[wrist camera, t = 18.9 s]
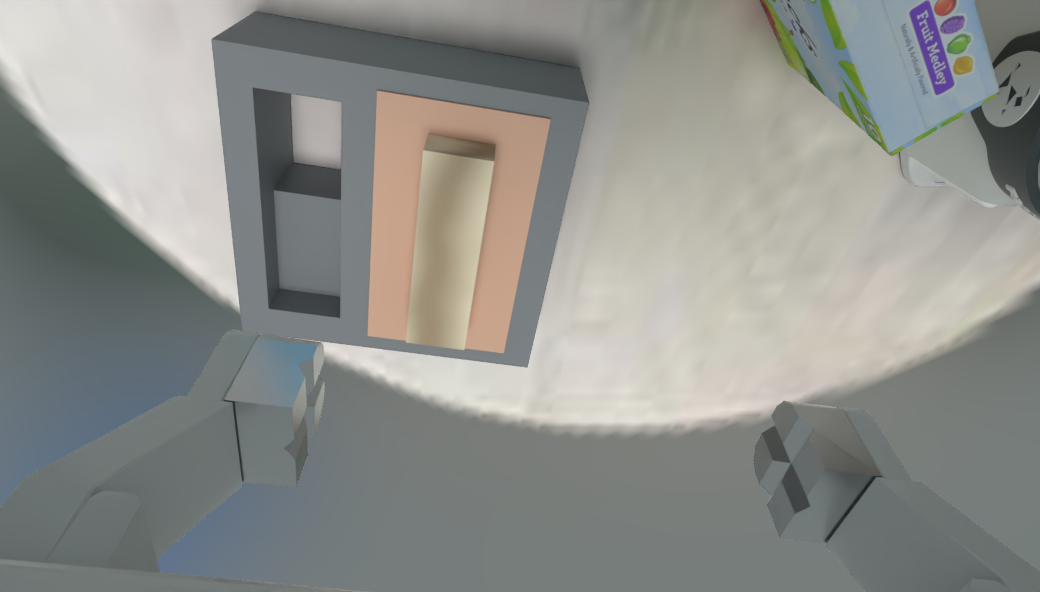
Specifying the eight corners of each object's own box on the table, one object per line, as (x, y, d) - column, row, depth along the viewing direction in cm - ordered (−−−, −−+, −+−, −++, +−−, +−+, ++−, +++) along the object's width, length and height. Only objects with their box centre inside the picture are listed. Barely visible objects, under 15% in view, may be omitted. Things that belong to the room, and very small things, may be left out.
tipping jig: (579, 68, 42) (589, 103, 36) (526, 312, 54) (527, 369, 48) (255, 11, 40) (210, 40, 34) (272, 277, 52) (241, 333, 46)
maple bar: (495, 144, 38) (494, 161, 36) (466, 327, 46) (464, 350, 44) (428, 133, 37) (423, 150, 35) (410, 320, 45) (405, 342, 43)
